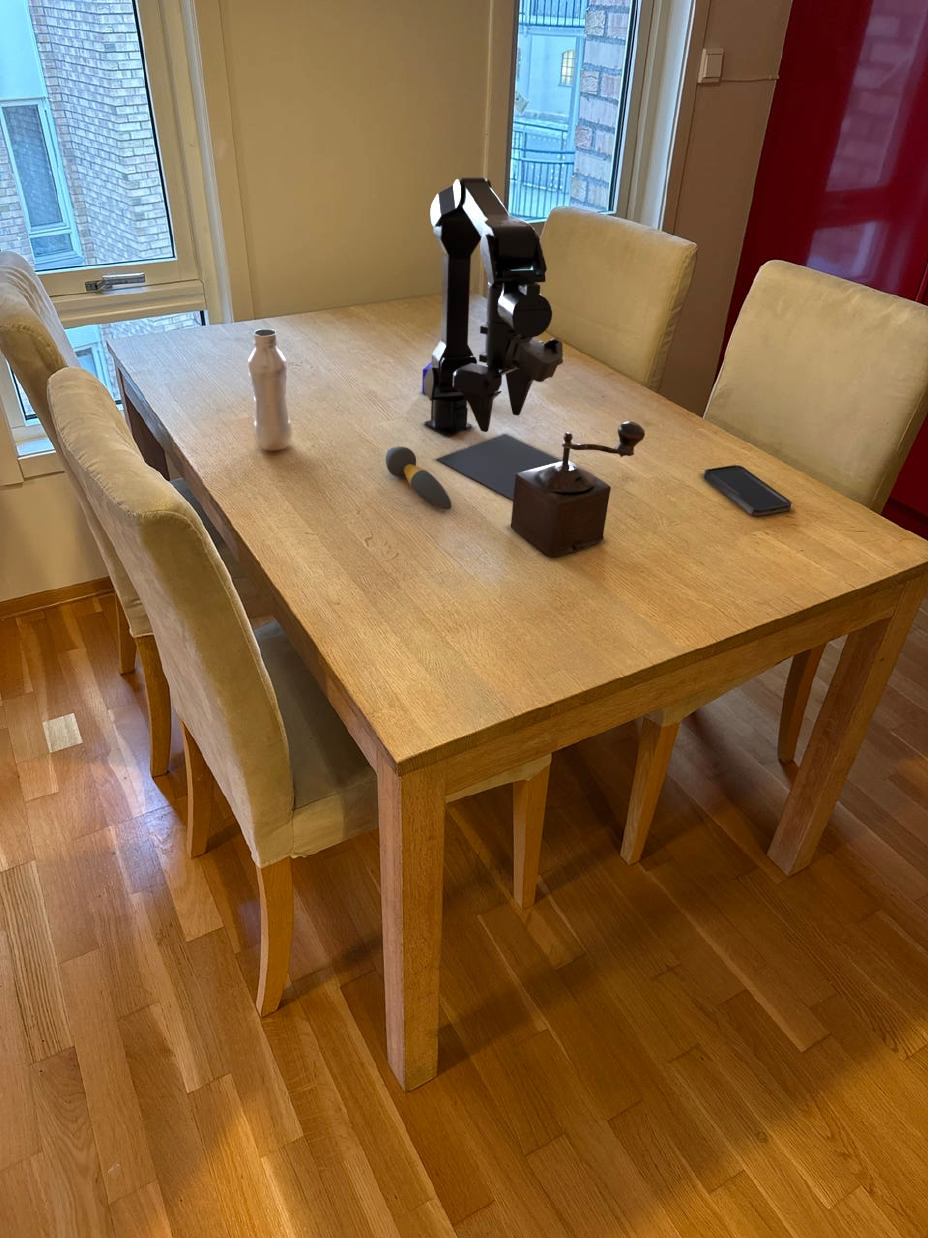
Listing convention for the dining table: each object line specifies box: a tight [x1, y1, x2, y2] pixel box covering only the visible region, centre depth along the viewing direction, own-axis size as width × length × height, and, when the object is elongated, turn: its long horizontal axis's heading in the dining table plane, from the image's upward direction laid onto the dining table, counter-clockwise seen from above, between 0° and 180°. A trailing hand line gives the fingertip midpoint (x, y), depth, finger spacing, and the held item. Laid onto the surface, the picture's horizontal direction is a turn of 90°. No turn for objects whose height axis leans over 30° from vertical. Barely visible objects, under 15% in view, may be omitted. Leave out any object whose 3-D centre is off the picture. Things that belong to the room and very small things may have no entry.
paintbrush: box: [385, 446, 452, 511], centre depth 145 cm, size 20×5×5 cm, turn 38°
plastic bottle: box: [247, 328, 293, 451], centre depth 150 cm, size 6×7×20 cm
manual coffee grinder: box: [510, 420, 646, 559], centre depth 132 cm, size 16×11×18 cm
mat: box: [435, 433, 562, 502], centre depth 154 cm, size 20×17×1 cm
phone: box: [703, 464, 793, 517], centre depth 150 cm, size 8×1×15 cm
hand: (500, 422), depth 138 cm, fingers open, 9 cm apart
